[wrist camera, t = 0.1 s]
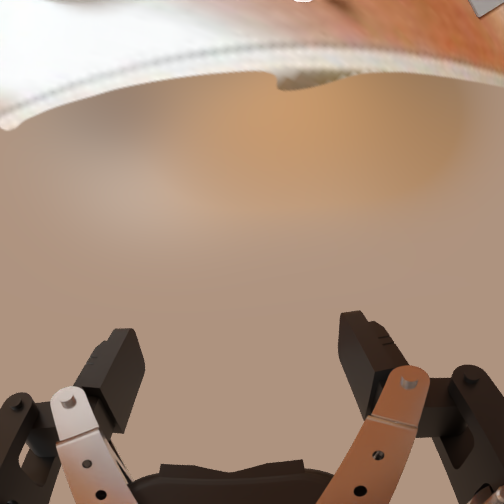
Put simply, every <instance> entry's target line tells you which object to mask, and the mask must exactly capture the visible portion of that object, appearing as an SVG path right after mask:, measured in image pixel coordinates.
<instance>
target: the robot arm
mask: <svg viewBox="0 0 504 504" xmlns="http://www.w3.org/2000/svg"><path fill="white" fill-rule="evenodd" d="M338 354H339V359H340V362H341V364H342V367H343V369H344V372H345V374H346V377H347V379H348V382H349V384H350V386H351V389H352V391H353V394H354V397H355V399H356V401H357V404H358V407H359V409H360V412H361V414H362V417H363V419H364V421H365V422H364V424H363V425H362V427H361V429H360V431H359V433H358V435H357V437H356V439H355V441H354V442H353V444H352V446H351V448H350V449H349V451H348V453H347V455H346V457H345V458H344V460H343V461H342V463H341V465H340V467H339V468H338V470H337V472H336V473H335V475H333V474H330V473H327V472H323V471H320V470H314V469H305V468H304V464H303V460H302V459H301V460H294V461H285V462H276V463H266V464H263V465H259V466H256V467H252V468H248V469H244V470H241V471H237V472H230V473H228V472H222V471H217V470H212V469H207V468H203V467H198V466H193V465H170V464H161V466H160V472H159V473H157V474H152V475H148V476H145V477H142V478H140V479H138V480H135V481H134V479H133V478H132V476H131V474H130V473H129V471H128V469H127V467H126V466H125V464H124V462H123V460H122V458H121V457H120V455H119V453H118V451H117V449H116V447H115V445H114V444H113V442H112V440H111V435H112V433H122V434H124V431H125V428H126V425H127V422H128V419H129V416H130V413H131V410H132V407H133V404H134V402H135V398H136V396H137V393H138V390H139V387H140V384H141V382H142V379H143V376H144V372H145V363H144V358H143V355H142V352H141V349H140V346H139V342H138V339H137V336H136V333H135V331H134V330H133V329H132V328H127V329H126V328H125V329H115V330H113V332H112V333H111V335H110V337H109V338H108V340H107V341H103V342H102V343H101V344H100V345H98V346H97V347H96V348H95V349H94V351H93V353H92V354H91V356H90V358H89V359H88V361H87V363H86V365H85V366H84V368H83V369H82V371H81V373H80V375H79V376H78V378H77V380H76V382H75V383H74V385H73V386H71V387H66V388H63V389H61V390H59V391H58V392H56V393H55V394H54V395H53V397H52V399H51V401H50V402H42V403H35V402H34V401H33V399H32V397H31V396H30V395H29V394H27V393H16V394H14V395H12V396H10V397H9V398H8V399H7V400H6V401H5V402H4V404H3V405H2V407H1V409H0V504H49V501H50V497H51V494H52V491H53V488H54V485H55V482H56V479H57V475H58V473H59V469H60V467H61V464H62V467H63V470H64V473H65V476H66V479H67V481H68V484H69V487H70V489H71V492H72V495H73V497H74V500H75V502H76V504H389V502H390V500H391V497H392V495H393V493H394V491H395V489H396V486H397V484H398V482H399V479H400V477H401V474H402V472H403V470H404V467H405V464H406V462H407V459H408V457H409V454H410V451H411V448H412V445H413V443H414V440H415V438H423V437H432V440H433V442H434V444H435V446H436V449H437V451H438V453H439V456H440V458H441V460H442V463H443V465H444V467H445V470H446V472H447V475H448V477H449V480H450V482H451V485H452V487H453V490H454V492H455V495H456V497H457V500H458V502H459V504H504V397H503V395H502V394H501V392H500V391H499V390H498V388H497V387H496V386H495V384H494V383H493V381H492V380H491V379H490V377H489V376H488V375H487V373H486V372H485V371H484V370H483V369H481V368H479V367H477V366H474V365H462V366H459V367H457V368H456V369H455V370H454V372H453V374H452V377H451V378H429V376H428V374H427V373H426V372H425V371H424V370H422V369H421V368H418V367H415V366H410V365H409V364H408V362H407V361H406V360H405V358H404V356H403V355H402V353H401V352H400V350H399V349H398V347H397V346H396V344H394V341H393V340H392V338H391V337H390V336H389V334H388V333H387V331H386V330H385V328H384V327H383V326H381V325H380V324H378V323H376V322H375V321H371V322H368V321H367V319H366V318H365V316H364V315H363V313H362V312H361V311H352V312H345V313H341V315H340V325H339V339H338ZM25 443H26V444H27V445H28V446H29V448H30V449H29V451H28V453H27V455H26V458H25V460H24V462H23V465H22V467H21V468H20V465H19V460H18V459H19V455H20V453H21V450H22V448H23V446H24V444H25Z"/></svg>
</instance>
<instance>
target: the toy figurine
mask: <svg viewBox="0 0 504 504" xmlns="http://www.w3.org/2000/svg"><path fill="white" fill-rule="evenodd" d="M294 1H296V2H310V1H312V0H294Z"/></svg>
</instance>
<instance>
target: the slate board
mask: <svg viewBox="0 0 504 504" xmlns="http://www.w3.org/2000/svg"><path fill="white" fill-rule="evenodd" d="M468 1H469V3H470V4H471V6H472V8H473V10H474V12H475V14H476V16H477V17H481V16H483V15H484V14H486V13H487V12H489V11H491V10H492V9H494V8H495V7H497V6H499V5H500V4H502V3H503V2H504V0H468Z"/></svg>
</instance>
